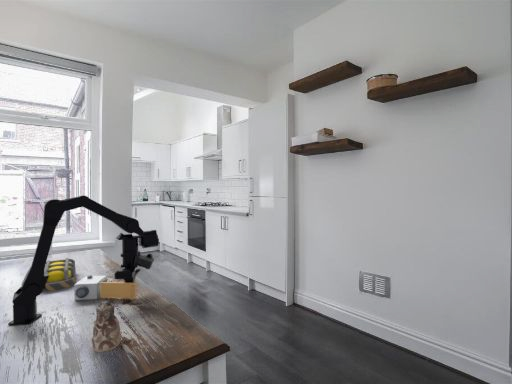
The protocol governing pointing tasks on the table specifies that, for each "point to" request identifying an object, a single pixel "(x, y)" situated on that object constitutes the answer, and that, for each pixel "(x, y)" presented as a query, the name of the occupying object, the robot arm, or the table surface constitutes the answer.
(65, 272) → the cage light
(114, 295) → the side door
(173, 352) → the table surface
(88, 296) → the block
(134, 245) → the robot arm
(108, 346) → the figurine
